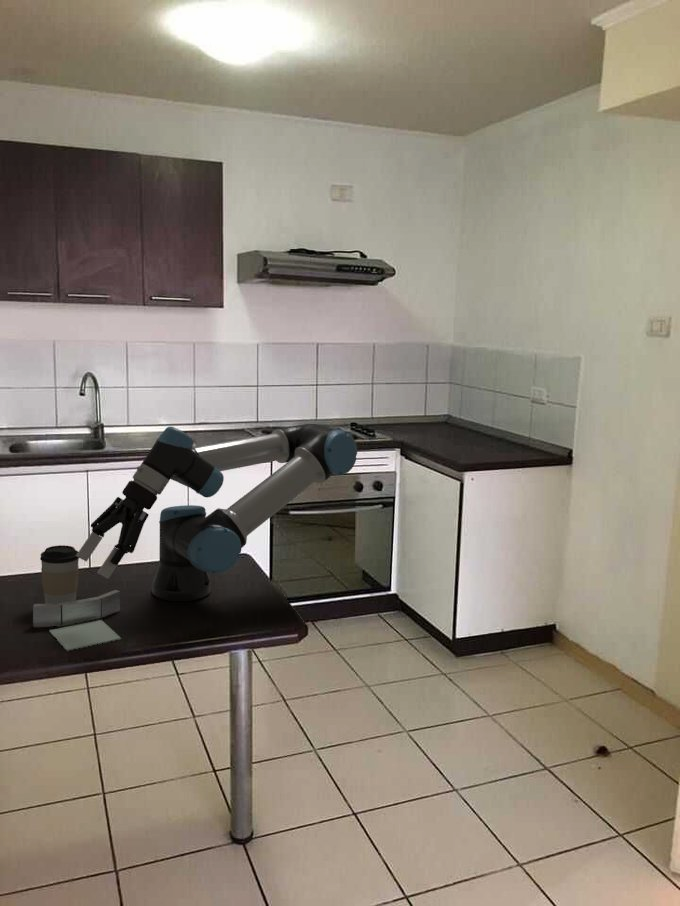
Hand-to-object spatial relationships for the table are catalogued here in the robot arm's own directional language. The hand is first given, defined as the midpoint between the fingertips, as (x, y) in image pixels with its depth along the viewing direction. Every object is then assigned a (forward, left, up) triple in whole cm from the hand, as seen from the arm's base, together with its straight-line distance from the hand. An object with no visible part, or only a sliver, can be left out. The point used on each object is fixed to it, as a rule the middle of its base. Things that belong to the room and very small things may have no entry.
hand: (91, 567), depth 172 cm
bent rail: (0, -8, -15) cm, 17 cm away
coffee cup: (+1, -18, -16) cm, 24 cm away
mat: (+2, +2, -15) cm, 16 cm away
